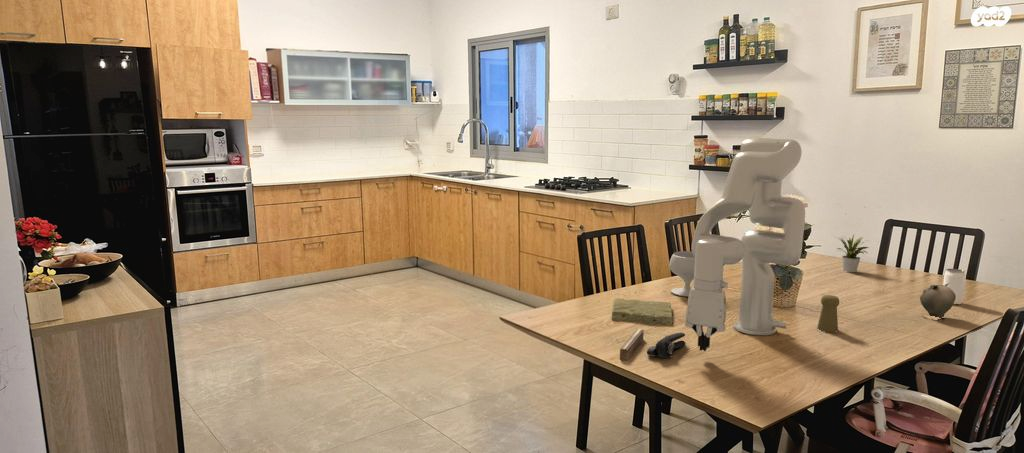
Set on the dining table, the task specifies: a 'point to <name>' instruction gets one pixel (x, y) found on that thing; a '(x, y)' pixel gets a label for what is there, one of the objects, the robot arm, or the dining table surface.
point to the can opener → (666, 346)
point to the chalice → (683, 270)
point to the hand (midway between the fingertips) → (703, 349)
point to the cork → (828, 314)
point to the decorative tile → (642, 311)
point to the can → (955, 282)
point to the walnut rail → (631, 344)
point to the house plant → (851, 255)
